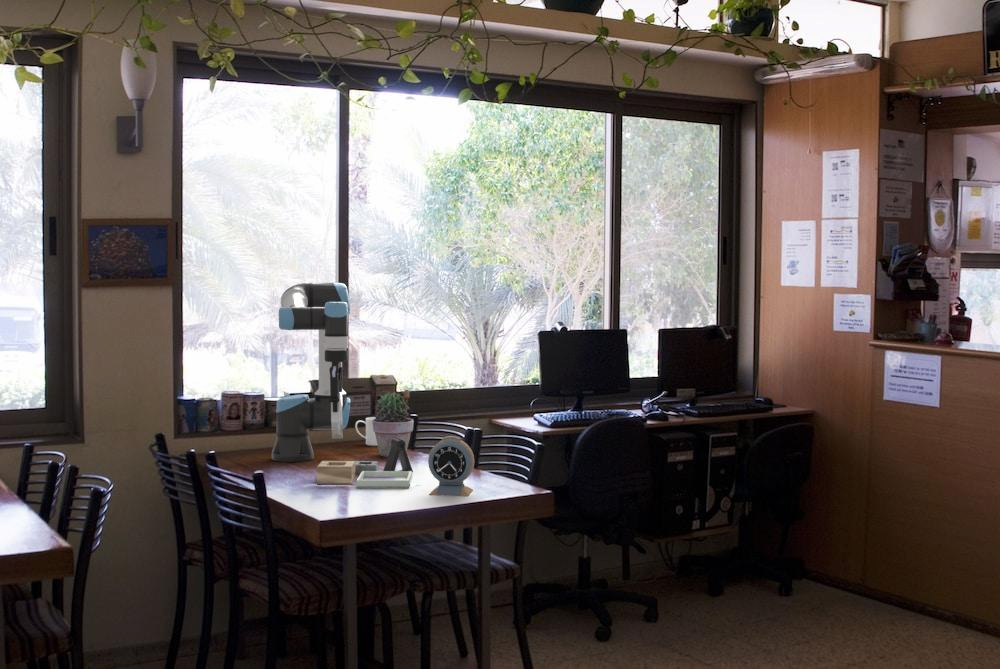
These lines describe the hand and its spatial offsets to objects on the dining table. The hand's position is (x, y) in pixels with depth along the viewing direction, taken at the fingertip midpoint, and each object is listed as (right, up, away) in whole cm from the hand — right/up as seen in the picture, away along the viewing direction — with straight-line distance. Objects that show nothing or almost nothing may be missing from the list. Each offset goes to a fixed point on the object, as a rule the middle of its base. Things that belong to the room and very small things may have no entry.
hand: (336, 420), depth 359 cm
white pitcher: (+2, -16, +81) cm, 83 cm away
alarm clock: (+38, -21, -15) cm, 46 cm away
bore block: (0, -20, +1) cm, 20 cm away
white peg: (0, -6, 0) cm, 6 cm away
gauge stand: (+8, -19, +14) cm, 25 cm away
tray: (+16, -20, -1) cm, 26 cm away
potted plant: (+12, -17, +56) cm, 60 cm away
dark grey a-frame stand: (+19, -20, +16) cm, 32 cm away
